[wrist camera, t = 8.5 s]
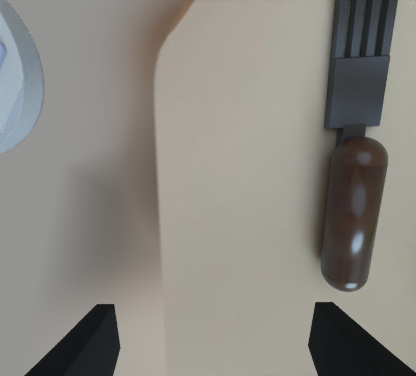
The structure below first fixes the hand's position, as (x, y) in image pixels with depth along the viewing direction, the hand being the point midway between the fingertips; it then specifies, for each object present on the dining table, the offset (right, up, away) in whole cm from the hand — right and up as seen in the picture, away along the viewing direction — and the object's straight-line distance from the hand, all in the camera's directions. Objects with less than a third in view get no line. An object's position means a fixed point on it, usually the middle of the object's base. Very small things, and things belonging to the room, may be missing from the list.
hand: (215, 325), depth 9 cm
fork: (+9, +8, +7) cm, 14 cm away
